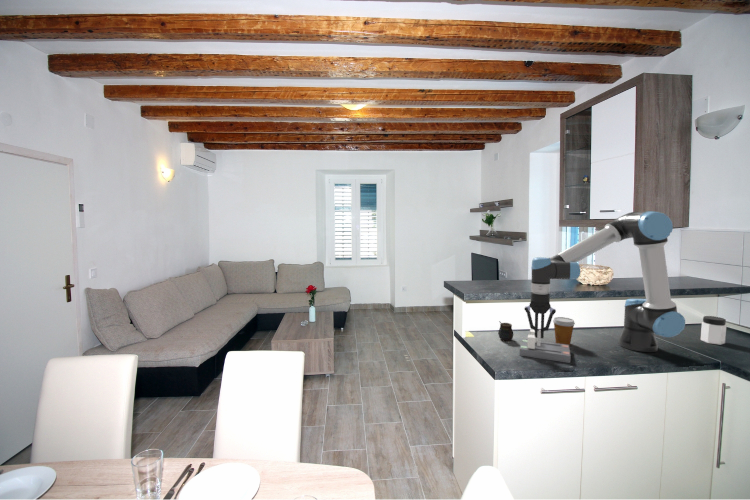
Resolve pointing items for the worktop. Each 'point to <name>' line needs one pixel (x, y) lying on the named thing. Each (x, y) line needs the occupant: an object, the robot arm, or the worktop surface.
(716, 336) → the jar
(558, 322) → the disposable coffee cup
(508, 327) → the mate gourd
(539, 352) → the panel
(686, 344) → the worktop surface
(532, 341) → the block
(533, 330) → the block
